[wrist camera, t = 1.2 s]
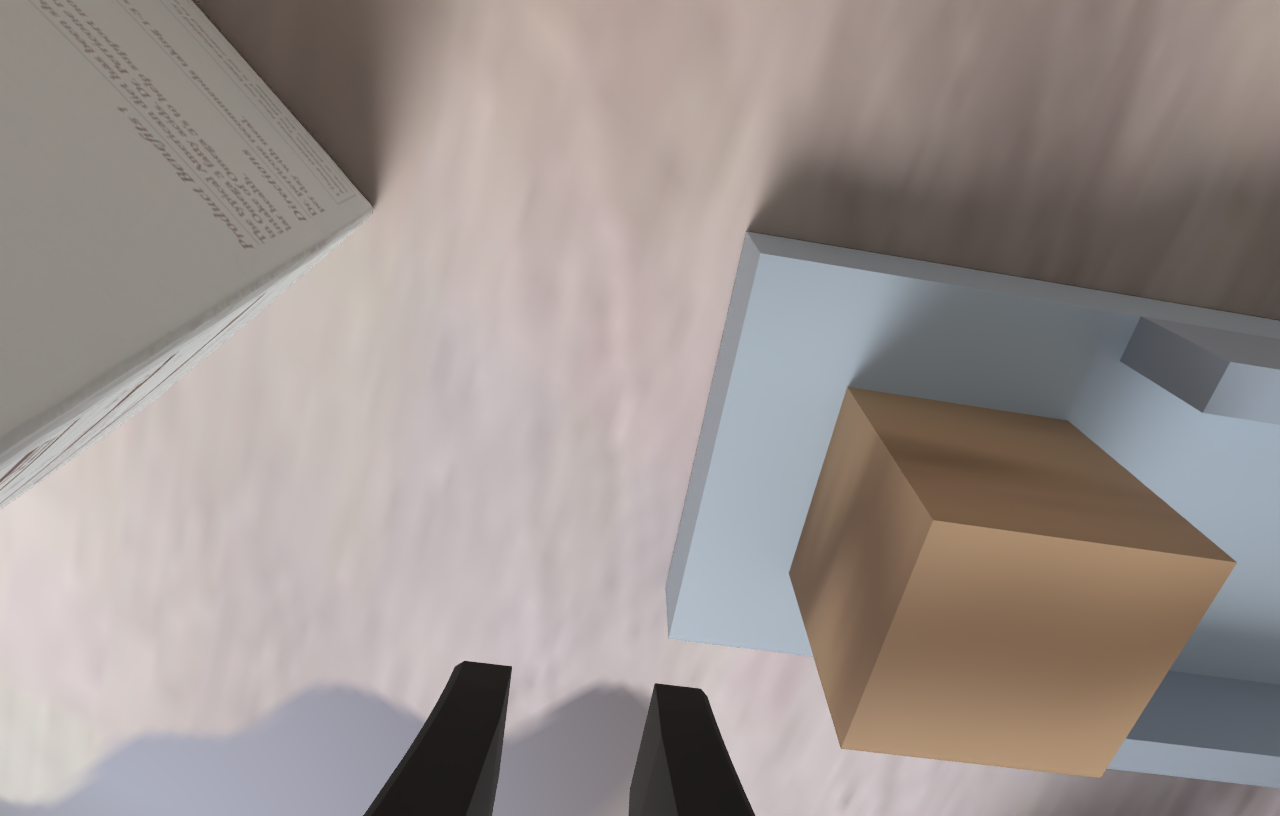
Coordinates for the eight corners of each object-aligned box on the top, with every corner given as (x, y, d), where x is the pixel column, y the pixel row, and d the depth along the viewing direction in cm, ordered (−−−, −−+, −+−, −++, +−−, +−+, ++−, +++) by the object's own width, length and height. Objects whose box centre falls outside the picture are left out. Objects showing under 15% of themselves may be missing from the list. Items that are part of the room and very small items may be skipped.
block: (984, 599, 18) (1100, 777, 14) (788, 573, 18) (840, 748, 13) (1067, 420, 16) (1238, 562, 12) (846, 386, 16) (932, 519, 11)
